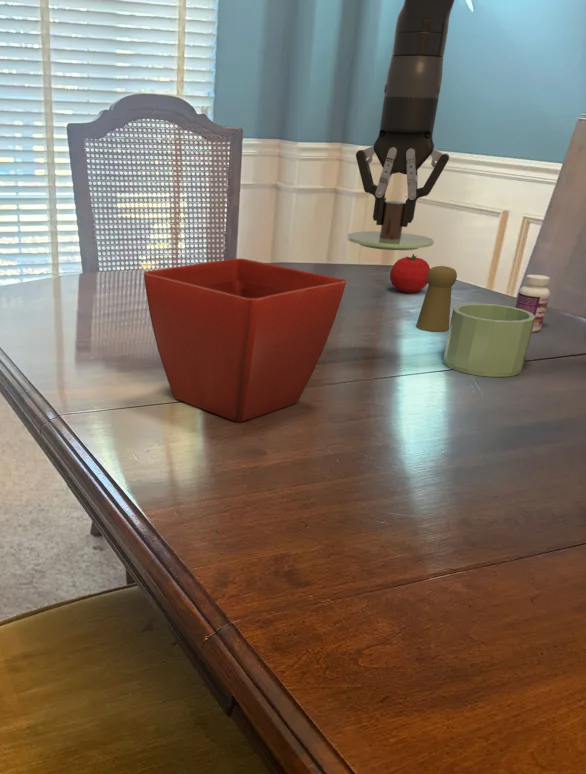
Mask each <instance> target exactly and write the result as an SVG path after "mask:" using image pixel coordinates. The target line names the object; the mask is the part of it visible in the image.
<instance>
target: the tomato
mask: <svg viewBox="0 0 586 774" xmlns="http://www.w3.org/2000/svg"><path fill="white" fill-rule="evenodd" d="M430 269H431V267H430V265H429V263H428V262H427V260H424V259H423V258H421V257H417V255H415V253H412V256H406V255H405V256H404V257H402V258H399V259H398V260H396V262H395V263H393V265H392V266H391V269H390V272H389V279H390V280H389V281H390V282H391V285H392V286H393V287H394V288H395V289H396V290H398V291H399V292H402V293H407V294H412V293H413V294H414V293H417V292H419V291H421V290H422V289H424V288H425V287H426V286H427V285H429V284H428V282H427V274H428V271H429V270H430Z"/></svg>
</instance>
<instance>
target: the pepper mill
mask: <svg viewBox="0 0 586 774" xmlns="http://www.w3.org/2000/svg"><path fill="white" fill-rule="evenodd" d="M457 278H458V273H457V270H456V269H455V268H453V267H451V266H445V265H437V266H433V267H430V270H429V271H428V274H427V282H428V284H427V285H428V286H427V289H426V292H425V296H424V299H423V301H422V305H421V308H420V312H419V315H418V318H417V322H416V324H415V328H416V329H418V330H422V331H426V332H433V333H434V332H435V333H443V332H444V333H445V332H449V328H450V322H451V302H452V301H451V300H452V287H453V286H454V285H455V283H456V281H457Z"/></svg>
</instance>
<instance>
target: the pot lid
mask: <svg viewBox="0 0 586 774" xmlns="http://www.w3.org/2000/svg"><path fill="white" fill-rule="evenodd" d="M405 203H406V201H405V202H404V201H396V200H386V202H385V203H384V210H383V216H382V223H381V225H380V230H379V231H375V230H373V231H356V232H350V233H347V236H346V240H347V241H349V242H351V243H353V244H358V245H359V246H362V247H365V248H369V249H370V248H371V249H375V250H376V249H377V250H385V251H413V250H418V249H423V248H429V247H431V246H433V245H434V242H435V240H434V239H433V238H431V237H428V236H424V235H420V234H413V233H407V232H406V233H405V232H403V228H404V227H402V222H403V215H404V209H405Z"/></svg>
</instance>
